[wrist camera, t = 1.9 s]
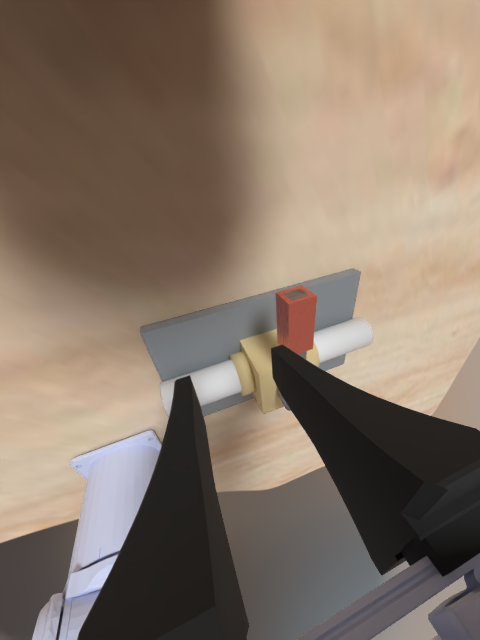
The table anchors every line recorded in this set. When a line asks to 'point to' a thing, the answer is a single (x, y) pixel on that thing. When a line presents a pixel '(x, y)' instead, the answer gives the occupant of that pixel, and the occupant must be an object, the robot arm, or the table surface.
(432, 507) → the robot arm
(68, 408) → the table surface
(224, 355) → the board
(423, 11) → the table surface
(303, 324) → the lever
